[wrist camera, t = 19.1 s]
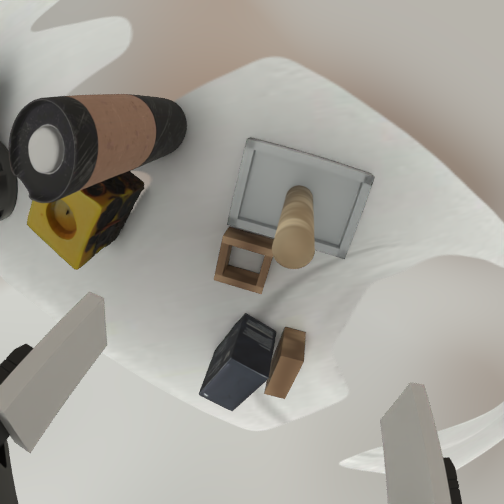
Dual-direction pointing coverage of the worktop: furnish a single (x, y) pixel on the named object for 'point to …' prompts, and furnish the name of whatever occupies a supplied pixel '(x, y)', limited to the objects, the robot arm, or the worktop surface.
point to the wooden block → (286, 362)
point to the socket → (239, 275)
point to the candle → (86, 218)
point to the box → (239, 363)
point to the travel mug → (89, 140)
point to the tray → (305, 174)
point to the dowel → (295, 230)
